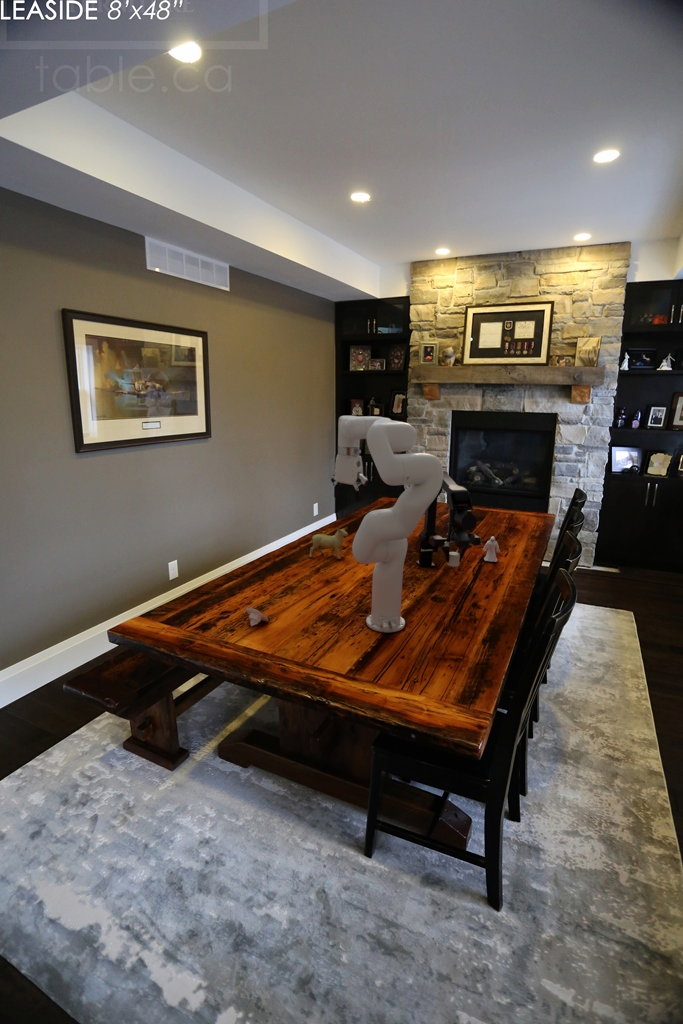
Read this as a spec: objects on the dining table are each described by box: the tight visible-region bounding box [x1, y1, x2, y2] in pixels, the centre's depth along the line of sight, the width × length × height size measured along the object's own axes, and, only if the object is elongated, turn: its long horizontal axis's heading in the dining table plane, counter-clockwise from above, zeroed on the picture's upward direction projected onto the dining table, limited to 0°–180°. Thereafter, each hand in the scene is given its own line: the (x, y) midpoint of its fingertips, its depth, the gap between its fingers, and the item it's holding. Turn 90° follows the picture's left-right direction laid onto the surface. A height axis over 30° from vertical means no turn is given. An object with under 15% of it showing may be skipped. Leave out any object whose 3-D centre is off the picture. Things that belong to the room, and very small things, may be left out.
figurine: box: [482, 535, 501, 563], centre depth 223 cm, size 8×8×12 cm
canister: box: [447, 551, 460, 568], centre depth 189 cm, size 4×4×4 cm
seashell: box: [245, 607, 269, 627], centre depth 160 cm, size 8×5×8 cm
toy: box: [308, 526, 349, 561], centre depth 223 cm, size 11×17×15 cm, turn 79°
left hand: (347, 499), depth 179 cm, fingers open, 9 cm apart
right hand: (453, 562), depth 189 cm, fingers closed on canister, 4 cm apart
